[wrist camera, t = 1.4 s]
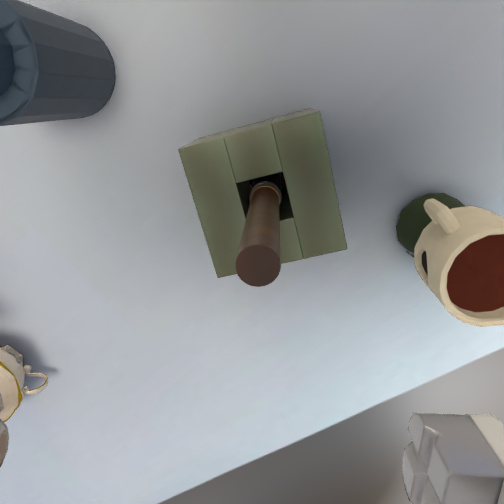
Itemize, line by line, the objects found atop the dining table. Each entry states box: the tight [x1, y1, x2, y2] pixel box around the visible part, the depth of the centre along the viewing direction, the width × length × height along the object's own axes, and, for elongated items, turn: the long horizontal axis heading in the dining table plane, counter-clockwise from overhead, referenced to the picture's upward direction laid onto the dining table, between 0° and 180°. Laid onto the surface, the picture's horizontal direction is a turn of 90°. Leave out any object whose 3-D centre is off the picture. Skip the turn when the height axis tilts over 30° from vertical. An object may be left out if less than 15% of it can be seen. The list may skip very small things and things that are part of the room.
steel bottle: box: [0, 0, 115, 126], centre depth 30 cm, size 8×8×16 cm
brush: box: [235, 173, 282, 287], centre depth 30 cm, size 2×2×22 cm
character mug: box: [396, 193, 504, 327], centre depth 34 cm, size 11×7×13 cm, turn 40°
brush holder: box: [178, 109, 347, 278], centre depth 36 cm, size 10×10×9 cm
